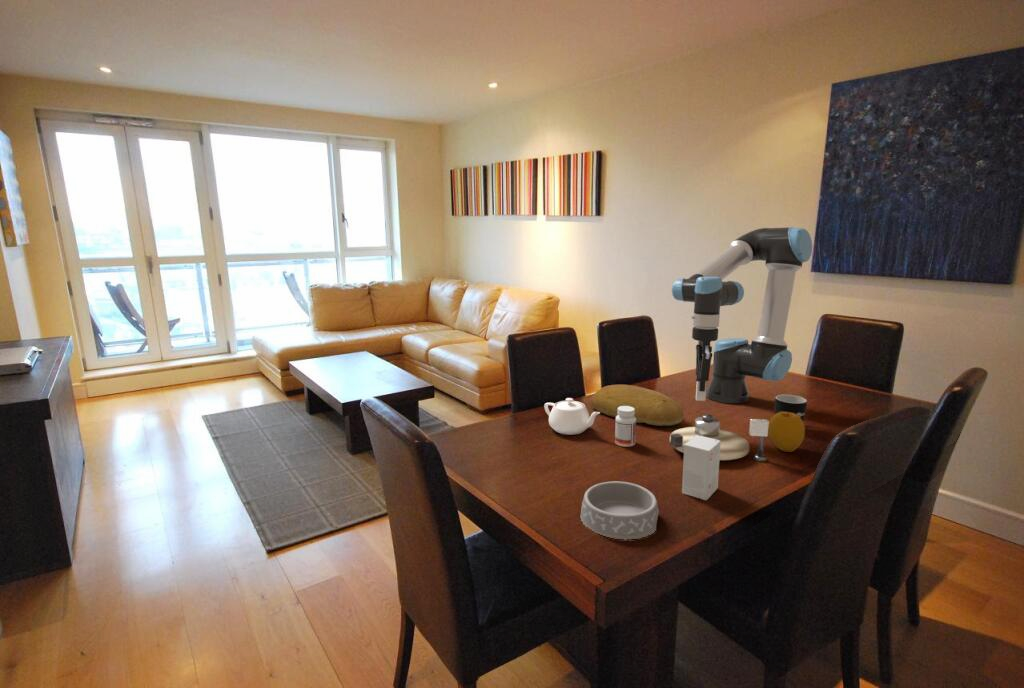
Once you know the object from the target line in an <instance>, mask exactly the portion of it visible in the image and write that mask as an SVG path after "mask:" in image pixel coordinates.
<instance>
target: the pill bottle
mask: <svg viewBox="0 0 1024 688" xmlns="http://www.w3.org/2000/svg"><path fill="white" fill-rule="evenodd" d="M617 414H618V415H617V416H616V417H615V425H614V426H615V427H614V428H615V431H614V442H615V445H618V446H620V447H625V448H626V447H627V448H628V447H629V448H630V447H633V446H635V445H636V440H637V439H636V437H637V436H636V435H637V422H636V418H635V416H634V415H635V409H634V408H633V407H630V406H620V407H618V410H617Z"/></svg>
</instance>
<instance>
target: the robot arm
mask: <svg viewBox="0 0 1024 688" xmlns="http://www.w3.org/2000/svg"><path fill="white" fill-rule="evenodd" d="M812 252H813V241H812V237H811V234H810V232H809V231H808V230H807V229H806V228H803V227H794V226H791V227H762V228H758V229H753V230H751V231H748V232H747V233H745V234H743V235H741V236H739V237H737V238H736V239H734V240H733V241H731V243H729V244H728V246H727V248H726V250H724V251H723V252H722V253H720V254H719V255H718V256H716V257H715V258H713V259H712V260H711V261H710V262H708V263H707V264H705V265H704V266H703V267H702V268H700V269H699V270H698V271H696V272H695V273H693V275H691V276H689V277H688V278H685V277H684V278H683V277H682V278H677V279H676V280H675V281H674V282H673V284H672V287H671V293H672V294H671V295H672V296H673V298H674V299H675V301H676V300H677V301H682V302H685V303H686V302H687V303H694V305H693V306H694V307H693V315H692V316H691V320H693V322H692V325H693V327H692V333H691V338H692V339H693V340H695V341H697V342H698V344H696V345H695V351H696V353H695V356H696V358H695V361H696V362H695V376H696V378H695V381H696V387H695V388H696V389H695V401H698V402H701V401H702V402H706V398H707V399H710V400H712V401H714V402H719V403H723V404H742V403H746V402H748V401H749V398H750V397H749V396H750V394H749V389H748V387H747V382H746V376H748V377H752V378H756V379H761V380H764V381H771V382H779V381H781V380H782V379H783V378H784V377H786V375H787V374H788V372H789V370H790V368H791V365H792V362H793V354H792V352H791V351H790V350H789V349H788V344H787V341H785V333H786V328H787V323H788V317H789V311H790V307H791V301H792V296H793V290H794V284H795V279H796V273H797V272H798V271H800V269H803V268H802V267H803V263H806V262H808V261H809V260H810V258H811V256H812ZM755 261H765V264H764V265H765V267H766V268H767V269H768V274H767V279H766V285H765V288H764V289H765V290H764V294H763V295H764V297H763V300H762V301H763V302H762V308H761V312H760V319H759V324H758V330H757V335H756V336H755V337H754V338H752V339H751V344H750V343H749V339H747V338H742V337H741V338H740V337H739V338H738V337H737V338H736V337H733V338H732V337H731V338H723V339H718V338H719V328H718V327H719V326H720V315H721V313H720V312H721V311H720V310H721V307H724V306H725V307H727V306H733V305H736V304H738V303H740V302H741V301H742V300H743V298H744V296H745V289H744V287H743V285H742V284H741V283H740V282H738V281H734V280H728V281H724V279H725V278H727V277H728V276H729V275H730V274H732V273H733V272H734V271H736V270H737V269H738V268H739V267H741V266H744V265H748V264H750V263H751V262H755ZM711 342H715V343H714V349H713V346H711ZM712 358H713V363H712ZM711 365H712V375H711V379H710V370H711ZM709 379H710V380H709ZM708 381H710V382H709V384H708V387H707V382H708Z"/></svg>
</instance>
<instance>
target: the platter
mask: <svg viewBox="0 0 1024 688" xmlns="http://www.w3.org/2000/svg"><path fill="white" fill-rule="evenodd" d="M696 435H697V434H695V426H687V427H683V428H679V429H678V428H677V429H675V430H674V431H672V432H671V433H670V435H669V445H670V446H672V447H673V448H674V449H675V450H677V451H678V452H681V453H683V454H684V445H685V444H686V443H687V442H688V441H690V440H691V439H692V438H693V437H694V436H696ZM712 439H716V440H720V441H721V444H720V460H719V461H731V460H737V459H741V458H744V457H745V456H747V455H748V454H749V453H750V447H751V446H750V443H749V441H748V440H747V439H746V438H744V437H742V436H741V435H740V434H737V433H735V432H732V431H729V430H725V429H721V428H719V436H717V437H712Z"/></svg>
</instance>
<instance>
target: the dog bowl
mask: <svg viewBox="0 0 1024 688" xmlns="http://www.w3.org/2000/svg"><path fill="white" fill-rule="evenodd" d="M659 516H660V509H659V507H658V501H657V498H656V496H655V494H653V492H651V491H650V490H649V489H647V488H645V487H644V486H641V485H639V484H636V483H632V482H629V481H628V482H627V481H619V480H618V481H617V480H615V481H614V480H613V481H605V482H599V483H596V484H594V485H592V486H590V487H589V488H588V489H586V491H585V493H584V495H583V499H582V502H581V509H580V517H579V519H580V518H581V520H580V521H582V522H583V523H582V522H581V523H582V524H583V526H584V525H585V526H584V527H585V528H587V527H588V528H589V529H591V530H592V531H594V532H595V533H594V532H593V533H594V534H596V533H598V534H600V535H603V536H606V537H610V538H615V539H624V540H623V541H627V539H639V538H642V537H646V536H648V535H651V534H653V533H654V532H655V531H656V532H657V523H658V517H659ZM588 528H587V529H588ZM589 529H588V530H589ZM591 530H590V531H591ZM592 531H591V532H592ZM656 532H655V533H656ZM655 533H654V534H655ZM598 534H597V535H598ZM654 534H653V535H654ZM600 535H599V536H600ZM603 536H602V537H603ZM651 536H652V535H651ZM606 537H605V538H606ZM610 538H609V539H610ZM646 538H647V537H646ZM615 539H614V540H615ZM639 540H640V539H639Z"/></svg>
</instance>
